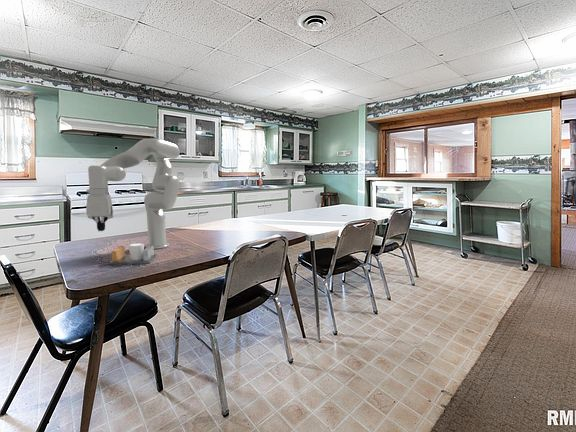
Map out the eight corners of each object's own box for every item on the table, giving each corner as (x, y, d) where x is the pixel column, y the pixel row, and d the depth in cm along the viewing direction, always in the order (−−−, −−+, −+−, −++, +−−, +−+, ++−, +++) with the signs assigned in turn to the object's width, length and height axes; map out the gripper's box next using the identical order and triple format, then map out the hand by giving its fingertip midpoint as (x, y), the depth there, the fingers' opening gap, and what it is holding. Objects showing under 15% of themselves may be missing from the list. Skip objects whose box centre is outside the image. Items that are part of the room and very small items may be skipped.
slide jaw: (112, 261, 145) (111, 251, 144) (120, 255, 155) (119, 246, 154) (116, 261, 145) (116, 251, 144) (124, 255, 155) (124, 246, 154)
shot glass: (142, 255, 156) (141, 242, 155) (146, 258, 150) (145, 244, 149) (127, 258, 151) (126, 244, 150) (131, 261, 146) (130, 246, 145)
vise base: (109, 264, 144) (108, 252, 143) (119, 257, 156) (118, 245, 155) (149, 263, 147) (149, 251, 146) (156, 256, 158) (156, 245, 157)
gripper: (77, 192, 139) (80, 232, 142) (112, 192, 142) (114, 232, 144) (85, 191, 147) (88, 229, 149) (119, 191, 149) (121, 229, 151)
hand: (101, 230), depth 146 cm, fingers closed
